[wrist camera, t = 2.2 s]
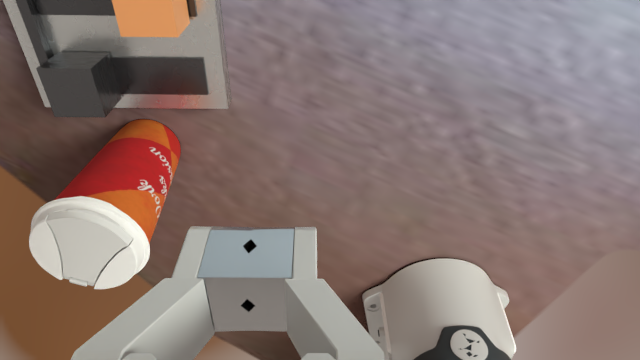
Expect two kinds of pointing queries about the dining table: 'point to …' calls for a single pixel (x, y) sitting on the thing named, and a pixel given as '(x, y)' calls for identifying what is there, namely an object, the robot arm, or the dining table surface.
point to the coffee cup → (108, 209)
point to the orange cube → (151, 17)
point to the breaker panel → (120, 58)
